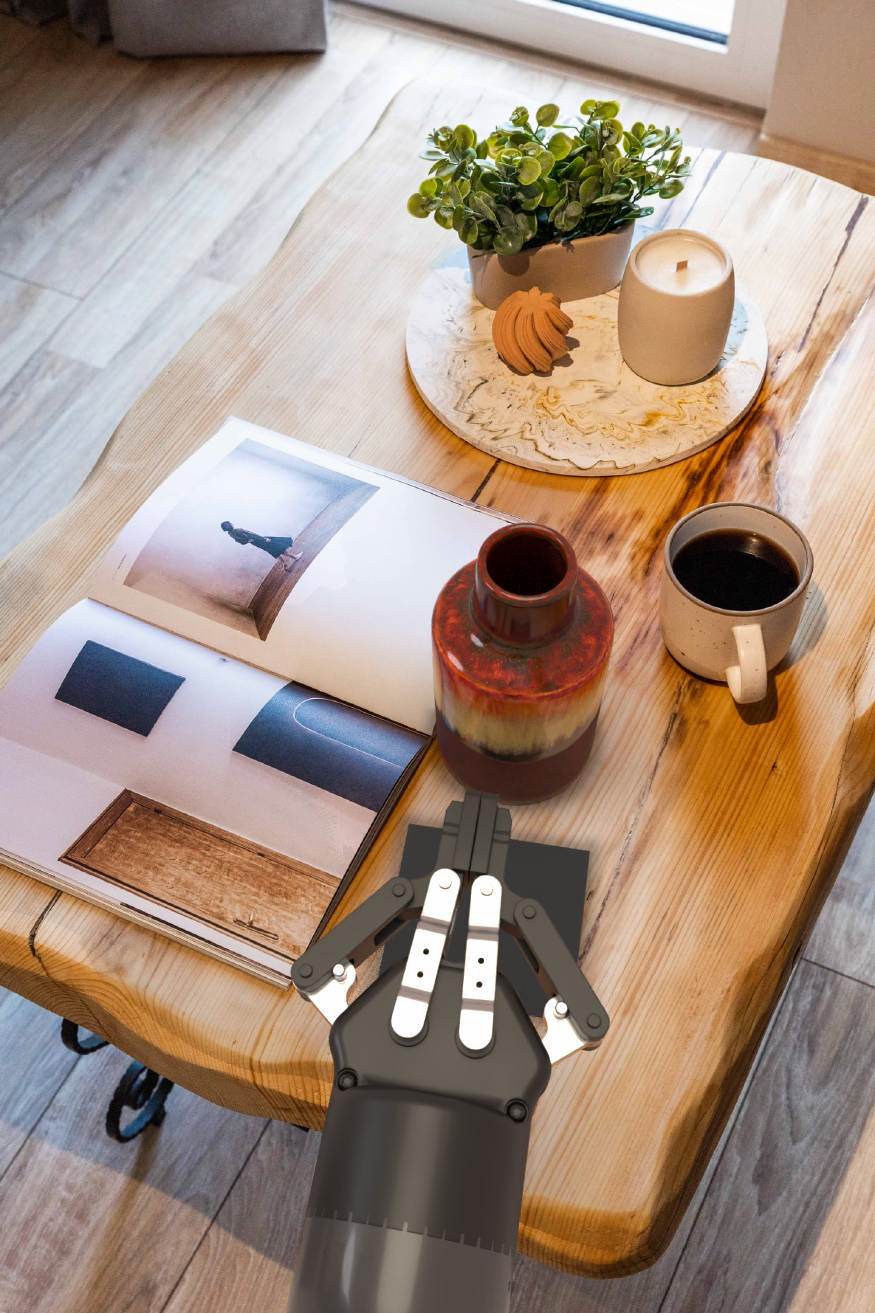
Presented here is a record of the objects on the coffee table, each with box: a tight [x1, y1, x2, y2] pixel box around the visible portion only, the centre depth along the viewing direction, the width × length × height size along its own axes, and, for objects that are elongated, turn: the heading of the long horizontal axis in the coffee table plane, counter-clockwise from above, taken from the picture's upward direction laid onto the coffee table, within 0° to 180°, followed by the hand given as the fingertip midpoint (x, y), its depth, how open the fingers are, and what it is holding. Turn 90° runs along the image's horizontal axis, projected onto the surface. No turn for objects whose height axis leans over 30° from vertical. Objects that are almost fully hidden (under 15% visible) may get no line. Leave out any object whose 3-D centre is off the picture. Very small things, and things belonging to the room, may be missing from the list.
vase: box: [430, 522, 615, 806], centre depth 68 cm, size 11×11×20 cm
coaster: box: [377, 823, 591, 1018], centre depth 70 cm, size 12×11×1 cm
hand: (481, 798), depth 48 cm, fingers closed
